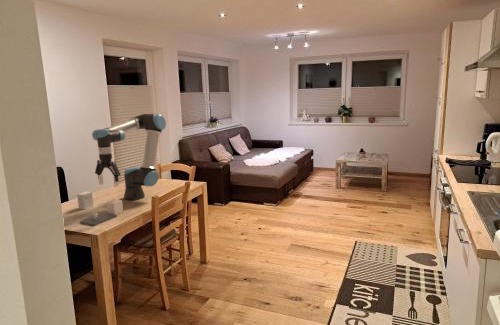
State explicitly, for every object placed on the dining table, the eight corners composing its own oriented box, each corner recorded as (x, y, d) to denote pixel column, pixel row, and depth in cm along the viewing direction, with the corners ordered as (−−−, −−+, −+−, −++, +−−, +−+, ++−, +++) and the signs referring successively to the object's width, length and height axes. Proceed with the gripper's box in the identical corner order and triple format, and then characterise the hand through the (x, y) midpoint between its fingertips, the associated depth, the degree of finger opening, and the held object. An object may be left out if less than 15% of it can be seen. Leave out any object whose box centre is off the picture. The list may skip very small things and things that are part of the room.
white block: (115, 210, 240) (114, 198, 238) (123, 211, 237) (122, 199, 235) (107, 213, 234) (106, 201, 232) (115, 215, 231) (113, 202, 229)
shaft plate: (103, 214, 233) (103, 206, 232) (117, 216, 228) (116, 208, 227) (80, 223, 218) (79, 214, 216) (94, 226, 212) (93, 217, 211)
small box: (87, 205, 252) (86, 191, 250) (93, 206, 250) (92, 191, 248) (78, 208, 245) (76, 194, 243) (84, 209, 243) (83, 194, 241)
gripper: (86, 153, 227) (90, 184, 231) (114, 155, 216) (118, 188, 220) (96, 151, 233) (99, 182, 238) (124, 153, 223) (127, 185, 227)
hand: (108, 185), depth 229 cm, fingers open, 13 cm apart
